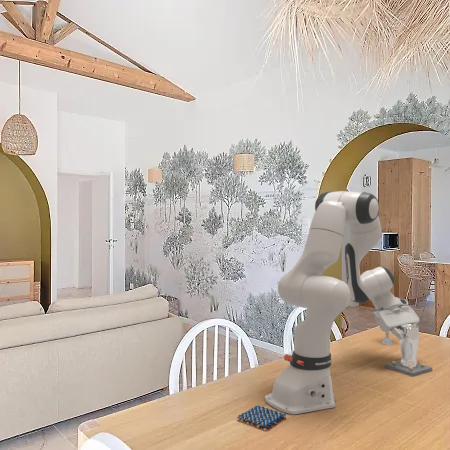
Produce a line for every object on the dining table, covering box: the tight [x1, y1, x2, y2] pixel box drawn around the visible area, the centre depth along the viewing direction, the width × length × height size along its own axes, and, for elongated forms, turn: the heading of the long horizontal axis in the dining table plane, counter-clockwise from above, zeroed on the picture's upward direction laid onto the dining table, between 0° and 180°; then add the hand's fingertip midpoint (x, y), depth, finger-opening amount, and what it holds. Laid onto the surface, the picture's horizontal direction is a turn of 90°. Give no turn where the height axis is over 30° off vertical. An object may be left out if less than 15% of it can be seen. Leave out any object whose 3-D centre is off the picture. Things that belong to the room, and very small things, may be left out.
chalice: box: [380, 331, 394, 346], centre depth 200 cm, size 7×7×18 cm
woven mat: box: [237, 404, 287, 432], centre depth 124 cm, size 10×11×2 cm
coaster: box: [384, 359, 433, 377], centre depth 167 cm, size 12×12×2 cm
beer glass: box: [398, 324, 420, 368], centre depth 167 cm, size 7×7×15 cm
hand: (410, 337), depth 166 cm, fingers open, 8 cm apart
